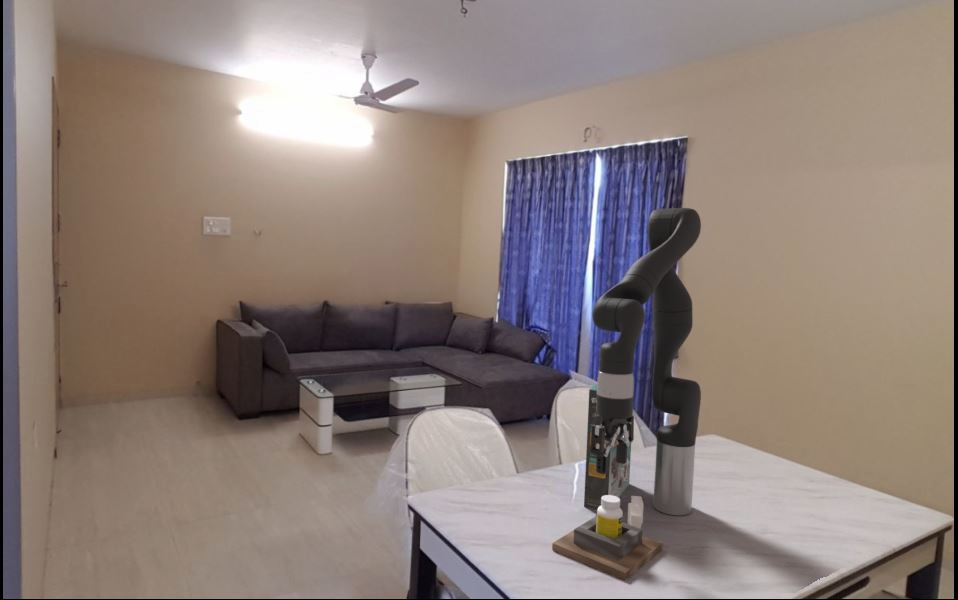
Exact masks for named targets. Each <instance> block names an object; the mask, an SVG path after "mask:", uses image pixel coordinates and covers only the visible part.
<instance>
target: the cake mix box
mask: <svg viewBox="0 0 958 600" xmlns="http://www.w3.org/2000/svg"><path fill="white" fill-rule="evenodd" d="M633 380H634V381H635V377H633ZM634 397H635V390H634V391H633V400H634ZM596 400H597V384H596V385H595V386H592V387H591V388H589V389H588V409H587V411H588V412H587V434H586V435H587V436H586V452H585V453H586V457H585V473H584V474H585V475H584V477H585V478H584V498H583V499H584V500H583V501H584V502H583V507H584V508H588V509H592V510H595V511H597V509H598V507H599V506H601V497H602V496H604V495H613V496H616V497H618V498H619V499H620V496H621V495H622V494H623V492H624V491H625V490H626V489H627V488H628V486H629V485H630V474H631V473H630V471H631V458H632V457H631V454H632V453H631V452H632V442H630V444H629V446H627V462H626V463H625V464H621V463H618V462H617V461H616V450H617V445H619V444H617V442H616V441H615V443H614V446H613V447H612V448H610V450H609V453H608V464H607V473H606V474H601V473H598V472H597V471H596V461H597V456H596V454H592V453H591V452H590V449H591V435H592V426H593V425H598V426H599V425H600V424H601V419H602V418H601V416H600V415H598V414H597V412H596ZM632 415H633V416H634V412H633V413H632ZM627 432H628V434H629V431H627ZM605 441H606V440H605ZM597 444H598V443H596V446H597ZM605 447H606V446H604V450H605ZM595 448H596V447H595Z"/></svg>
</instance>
